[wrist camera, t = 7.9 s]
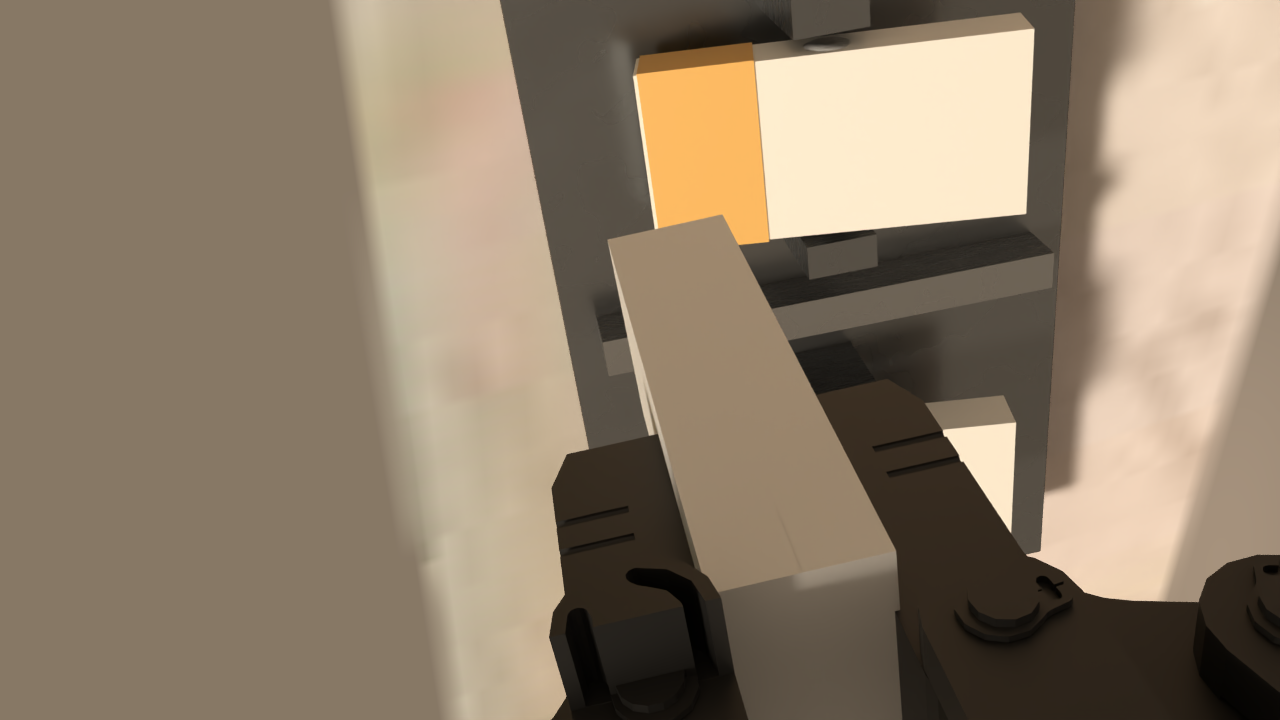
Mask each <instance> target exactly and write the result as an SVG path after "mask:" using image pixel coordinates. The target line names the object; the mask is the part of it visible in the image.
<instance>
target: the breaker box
mask: <svg viewBox="0 0 1280 720" xmlns="http://www.w3.org/2000/svg"><path fill="white" fill-rule="evenodd" d="M500 3H501V8H502V13H503V18H504V23H505V28H506V33H507V38H508V43H509V48H510V53H511V58H512V63H513V69H514V74H515V79H516V84H517V89H518V94H519V99H520V104H521V109H522V114H523V119H524V124H525V129H526V134H527V139H528V144H529V149H530V154H531V159H532V164H533V169H534V174H535V179H536V184H537V189H538V194H539V199H540V205H541V210H542V215H543V220H544V225H545V230H546V235H547V240H548V245H549V250H550V255H551V260H552V265H553V270H554V275H555V280H556V285H557V290H558V295H559V300H560V305H561V310H562V315H563V320H564V325H565V330H566V335H567V340H568V346H569V351H570V356H571V361H572V366H573V371H574V376H575V381H576V386H577V391H578V396H579V401H580V406H581V411H582V416H583V421H584V426H585V431H586V436H587V441H588V446H589V449H593V448H597V447H602V446H606V445H611V444H615V443H619V442H624V441H628V440H633V439H637V438H642V437H646V436H649V433H648V430H647V426H646V422H645V418H644V414H643V410H642V405H641V400H640V395H639V390H638V386H637V381H636V376H635V371H634V366H633V361H632V356H631V352H630V347H629V342H628V337H627V332H626V327H625V323H624V318H623V313H622V308H621V303H620V298H619V293H618V289H617V284H616V279H615V274H614V269H613V264H612V260H611V255H610V250H609V245H608V239H612V238H617V237H622V236H626V235H631V234H635V233H640V232H644V231H649V230H653V229H655V227H654V220H653V213H652V206H651V199H650V192H649V185H648V178H647V171H646V164H645V157H644V150H643V143H642V136H641V129H640V122H639V115H638V108H637V101H636V94H635V87H634V80H633V73H634V68H635V63H636V59H637V58H640V56H642V55H650V54H658V53H667V52H675V51H683V50H691V49H700V48H708V47H716V46H725V45H733V44H741V43H750V42H752V45H753V44H762V43H770V42H778V41H787V40H793V41H794V40H799V39H805V38H812V37H820V36H828V35H837V34H845V33H853V32H862V31H870V30H878V29H887V28H895V27H903V26H912V25H920V24H928V23H936V22H945V21H953V20H961V19H970V18H978V17H986V16H995V15H1003V14H1011V13H1021V14H1022V15H1023V16H1024V17H1025V18H1026V19H1027V21H1028V22H1029V23H1030V24H1031V25H1032V26H1033V27H1034V51H1033V73H1032V95H1031V117H1030V139H1029V162H1028V184H1027V206H1026V214H1021V215H1010V216H1000V217H990V218H980V219H970V220H960V221H950V222H940V223H930V224H920V225H910V226H900V227H890V228H880V229H869V230H859V231H849V232H839V233H829V234H819V235H809V236H799V237H789V238H779V239H769V242H763V243H753V244H743V245H739V247H740V249H741V251H742V253H743V255H744V257H745V259H746V261H747V263H748V265H749V267H750V269H751V271H752V273H753V274H754V276H755V278H756V280H757V282H758V284H759V286H760V288H761V290H762V292H763V294H764V296H765V298H766V300H767V302H768V304H769V305H770V307H771V309H772V311H773V313H774V315H775V317H776V319H777V321H778V323H779V325H780V327H781V329H782V331H783V333H784V335H785V336H786V338H787V340H788V342H789V344H790V346H791V348H792V350H793V352H794V354H795V356H796V358H797V360H798V362H799V364H800V366H801V367H802V369H803V371H804V373H805V375H806V377H807V379H808V381H809V383H810V385H811V387H812V389H813V391H814V393H815V395H818V394H822V393H827V392H831V391H835V390H840V389H844V388H849V387H853V386H858V385H862V384H866V383H871V382H875V381H880V380H884V379H888V380H890V381H892V382H893V383H895V384H896V385H898V386H900V387H901V388H903V389H905V390H906V391H908V392H910V393H911V394H913V395H915V396H916V397H918V398H920V399H921V400H923V401H924V403H931V402H941V401H951V400H961V399H971V398H981V397H991V396H1001V395H1004V398H1005V400H1006V402H1007V404H1008V406H1009V408H1010V411H1011V413H1012V415H1013V417H1014V419H1015V421H1016V435H1015V457H1014V480H1013V502H1012V524H1011V534H1012V535H1013V537H1014V538H1015V540H1016V541H1017V543H1018V545H1019V546H1020V548H1021V549H1022V551H1023V552H1024V553H1025V554H1030V553H1034V552H1039V551H1040V549H1041V534H1042V518H1043V502H1044V486H1045V470H1046V454H1047V438H1048V422H1049V406H1050V390H1051V375H1052V359H1053V343H1054V327H1055V311H1056V295H1057V279H1058V263H1059V247H1060V231H1061V216H1062V200H1063V184H1064V168H1065V152H1066V136H1067V120H1068V104H1069V88H1070V73H1071V57H1072V41H1073V25H1074V9H1075V0H500Z"/></svg>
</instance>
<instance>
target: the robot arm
mask: <svg viewBox="0 0 1280 720" xmlns="http://www.w3.org/2000/svg"><path fill="white" fill-rule="evenodd" d="M608 245H609V250H610V255H611V260H612V264H613V269H614V274H615V279H616V284H617V289H618V293H619V298H620V303H621V308H622V313H623V318H624V323H625V327H626V332H627V337H628V342H629V347H630V352H631V356H632V361H633V366H634V371H635V376H636V381H637V386H638V390H639V395H640V400H641V405H642V410H643V414H644V418H645V422H646V426H647V430H648V433H649V436H646V437H642V438H637V439H633V440H628V441H624V442H619V443H615V444H611V445H606V446H602V447H597V448H593V449H589V450H584V451H580V452H575V453H571V454H567V455H566V458H565V460H564V462H563V464H562V466H561V469H560V471H559V473H558V475H557V477H556V480H555V482H554V484H553V486H552V495H553V503H554V511H555V519H556V525H557V535H558V543H559V551H560V555H561V557H560V559H561V567H562V575H563V583H564V591H565V595H564V597H563V598H562V600H561V601H560V603H559V604H558V606H557V607H556V609H555V610H554V612H553V616H552V623H551V629H550V635H549V638H550V642H551V645H552V648H553V652H554V655H555V658H556V662H557V665H558V668H559V672H560V675H561V678H562V682H563V685H564V689H565V692H566V695H567V696H566V699H565V700H564V702H563V704H562V705H561V707H560V708H559V710H558V711H557V713H556V714H555V716H554V717H553V718H552V719H551V720H1280V555H1255V556H1251V557H1248V558H1244V559H1240V560H1236V561H1233V562H1229V563H1227V564H1225V565H1224V566H1223V567H1221V568H1220V569H1219V570H1218V571H1216V572H1215V573H1214V574H1212V575H1211V576H1210V577H1208V578H1207V580H1206V582H1205V585H1204V588H1203V591H1202V594H1201V597H1200V599H1199V602H1160V601H1129V600H1119V599H1109V598H1103V597H1099V596H1095V595H1091V594H1088V593H1084V592H1083V590H1082V589H1081V588H1079V587H1078V586H1077V585H1076V584H1075V583H1074V582H1073V581H1072V580H1071V579H1070V578H1069V577H1068V576H1067V575H1066V574H1065V573H1064V572H1063V571H1061V570H1059V569H1057V568H1055V567H1053V566H1050V565H1048V564H1046V563H1044V562H1042V561H1040V560H1038V559H1036V558H1032V557H1027V556H1026V554H1025V553H1024V552H1023V551H1022V549H1021V548H1020V546H1019V545H1018V543H1017V541H1016V540H1015V538H1014V537H1013V535H1012V534H1011V532H1010V531H1009V529H1008V528H1007V526H1006V525H1005V523H1004V522H1003V520H1002V519H1001V517H1000V516H999V514H998V513H997V511H996V510H995V508H994V507H993V505H992V504H991V502H990V501H989V499H988V498H987V496H986V495H985V493H984V492H983V490H982V489H981V487H980V486H979V484H978V483H977V481H976V480H975V478H974V477H973V475H972V474H971V472H970V471H969V469H968V468H967V466H966V465H965V463H964V462H961V461H960V458H959V454H958V453H957V451H956V450H955V448H954V447H953V445H952V443H951V442H950V440H949V439H948V437H947V436H946V437H944V434H943V430H942V428H941V427H940V425H939V424H938V422H937V421H936V419H935V418H934V416H933V415H932V413H931V412H930V410H929V409H928V407H927V406H926V404H925V403H924V401H923V400H921V399H920V398H918V397H916V396H915V395H913V394H911V393H910V392H908V391H906V390H905V389H903V388H901V387H900V386H898V385H896V384H895V383H893V382H892V381H890V380H888V379H884V380H880V381H875V382H871V383H866V384H862V385H858V386H853V387H849V388H844V389H840V390H835V391H831V392H827V393H822V394H818V395H815V393H814V391H813V389H812V387H811V385H810V383H809V381H808V379H807V377H806V375H805V373H804V371H803V369H802V367H801V366H800V364H799V362H798V360H797V358H796V356H795V354H794V352H793V350H792V348H791V346H790V344H789V342H788V340H787V338H786V336H785V335H784V333H783V331H782V329H781V327H780V325H779V323H778V321H777V319H776V317H775V315H774V313H773V311H772V309H771V307H770V305H769V304H768V302H767V300H766V298H765V296H764V294H763V292H762V290H761V288H760V286H759V284H758V282H757V280H756V278H755V276H754V274H753V273H752V271H751V269H750V267H749V265H748V263H747V261H746V259H745V257H744V255H743V253H742V251H741V249H740V247H739V245H738V243H737V242H736V240H735V238H734V236H733V234H732V232H731V230H730V228H729V226H728V224H727V222H726V220H725V218H724V216H723V214H722V215H717V216H713V217H708V218H704V219H699V220H694V221H690V222H685V223H681V224H676V225H672V226H667V227H663V228H658V229H653V230H649V231H644V232H640V233H635V234H631V235H626V236H622V237H617V238H612V239H608Z"/></svg>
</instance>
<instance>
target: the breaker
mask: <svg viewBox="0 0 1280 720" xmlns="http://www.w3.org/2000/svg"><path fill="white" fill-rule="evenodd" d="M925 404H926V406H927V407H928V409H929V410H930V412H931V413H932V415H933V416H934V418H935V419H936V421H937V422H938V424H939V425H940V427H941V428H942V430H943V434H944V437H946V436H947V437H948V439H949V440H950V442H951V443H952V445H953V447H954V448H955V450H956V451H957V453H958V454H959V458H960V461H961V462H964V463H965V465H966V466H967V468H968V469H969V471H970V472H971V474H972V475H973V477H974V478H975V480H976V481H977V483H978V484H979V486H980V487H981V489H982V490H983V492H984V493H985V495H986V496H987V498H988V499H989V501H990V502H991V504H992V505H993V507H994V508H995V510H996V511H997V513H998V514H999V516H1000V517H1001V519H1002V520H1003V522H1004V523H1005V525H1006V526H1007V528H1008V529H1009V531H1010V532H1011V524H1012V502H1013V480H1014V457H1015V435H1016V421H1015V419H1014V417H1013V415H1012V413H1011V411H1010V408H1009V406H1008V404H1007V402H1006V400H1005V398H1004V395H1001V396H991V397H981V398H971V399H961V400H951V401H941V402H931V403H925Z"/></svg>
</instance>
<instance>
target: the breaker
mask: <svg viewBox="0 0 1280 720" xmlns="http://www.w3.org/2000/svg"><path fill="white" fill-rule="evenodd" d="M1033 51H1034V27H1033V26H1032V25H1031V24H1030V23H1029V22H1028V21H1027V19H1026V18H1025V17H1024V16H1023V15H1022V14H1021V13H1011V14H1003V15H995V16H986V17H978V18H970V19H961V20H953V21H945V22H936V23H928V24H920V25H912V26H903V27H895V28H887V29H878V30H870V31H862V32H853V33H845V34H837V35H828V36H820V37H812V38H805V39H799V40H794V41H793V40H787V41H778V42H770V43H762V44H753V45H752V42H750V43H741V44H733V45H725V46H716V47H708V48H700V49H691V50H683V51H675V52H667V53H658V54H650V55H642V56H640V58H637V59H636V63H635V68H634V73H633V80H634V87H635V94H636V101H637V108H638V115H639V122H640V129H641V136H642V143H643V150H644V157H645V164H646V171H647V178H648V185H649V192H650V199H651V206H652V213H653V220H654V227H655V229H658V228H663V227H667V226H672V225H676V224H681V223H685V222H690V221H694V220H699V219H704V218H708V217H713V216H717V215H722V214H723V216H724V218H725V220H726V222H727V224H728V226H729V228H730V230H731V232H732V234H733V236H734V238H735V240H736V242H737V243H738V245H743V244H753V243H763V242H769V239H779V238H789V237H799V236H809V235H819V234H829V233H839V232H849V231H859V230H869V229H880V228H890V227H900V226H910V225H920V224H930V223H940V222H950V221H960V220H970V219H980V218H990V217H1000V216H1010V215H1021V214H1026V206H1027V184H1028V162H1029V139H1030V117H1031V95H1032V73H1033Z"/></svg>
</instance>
